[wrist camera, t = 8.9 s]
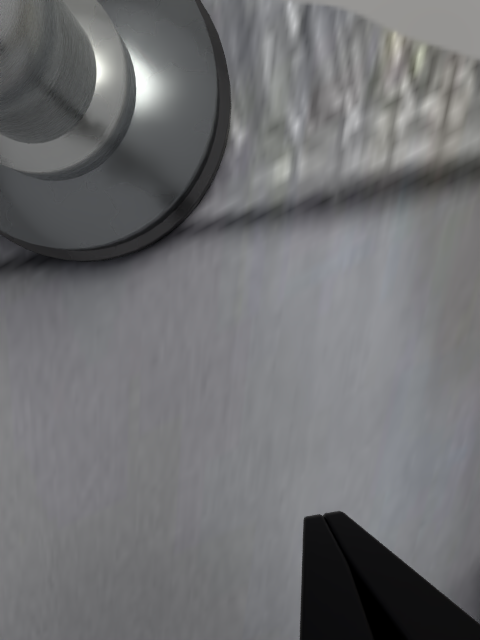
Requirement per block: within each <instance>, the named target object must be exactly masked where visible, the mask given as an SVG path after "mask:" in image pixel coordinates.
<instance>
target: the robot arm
mask: <svg viewBox="0 0 480 640" xmlns="http://www.w3.org/2000/svg"><path fill="white" fill-rule="evenodd" d="M300 640H480V624H479V623H478V622H477V621H475V620H474V619H473V618H472V617H470V616H469V615H468V614H467V613H466V612H464V611H463V610H462V609H461V608H459V607H458V606H457V605H456V604H455V603H453V602H452V601H451V600H450V599H448V598H447V597H446V596H445V595H444V594H442V593H441V592H440V591H439V590H437V589H436V588H435V587H434V586H433V585H431V584H430V583H429V582H428V581H426V580H425V579H424V578H423V577H422V576H420V575H419V574H418V573H417V572H415V571H414V570H413V569H412V568H411V567H409V566H408V565H407V564H406V563H404V562H403V561H402V560H401V559H400V558H398V557H397V556H396V555H395V554H394V553H392V552H391V551H390V550H389V549H387V548H386V547H385V546H384V545H383V544H381V543H380V542H379V541H378V540H376V539H375V538H374V537H373V536H372V535H370V534H369V533H368V532H367V531H365V530H364V529H363V528H362V527H361V526H359V525H358V524H357V523H356V522H354V521H353V520H352V519H351V518H350V517H348V516H347V515H346V514H345V513H343V512H341V511H336V512H330V513H325V514H324V515H323V516H322V515H320V514H319V515H313V516H307V517H305V518H304V525H303V556H302V586H301V617H300Z"/></svg>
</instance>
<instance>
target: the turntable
mask: <svg viewBox="0 0 480 640" xmlns="http://www.w3.org/2000/svg"><path fill="white" fill-rule="evenodd" d="M97 1H98V2H99V4H100V5H101V6H102V7H103V8H104V10H105V12H106V13H107V15H108V16H109V18H110V19H111V21H112V23H113V24H114V26H115V28H116V29H117V31H118V33H119V34H120V36H121V38H122V39H123V41H124V43H125V45H126V47H127V49H128V51H129V53H130V56H131V59H132V63H133V66H134V71H135V76H136V103H135V109H134V114H133V117H132V121H131V124H130V126H129V129H128V131H127V133H126V135H125V137H124V139H123V140H122V142H121V144H120V145H119V147H118V148H117V149H116V151H115V152H114V153H113V154H112V155H111V156H110V157H109V158H108V159H107V160H106V161H105V162H104V163H103V164H101V165H100V166H99V167H97V168H96V169H94V170H92V171H91V172H89V173H87V174H85V175H82V176H80V177H77V178H73V179H69V180H63V181H45V180H40V179H35V178H32V177H29V176H26V175H24V174H21V173H19V172H17V171H15V170H13V169H11V168H9V167H6V166H4V165H2V164H0V234H2V235H3V236H4V237H6V238H7V239H9V240H10V241H12V242H14V243H16V244H18V245H20V246H22V247H24V248H25V249H28V250H31V251H33V252H36V253H39V254H42V255H45V256H49V257H54V258H58V259H64V260H73V261H103V260H109V259H114V258H118V257H123V256H126V255H129V254H131V253H134V252H137V251H140V250H142V249H144V248H146V247H148V246H150V245H152V244H153V243H155V242H157V241H158V240H160V239H161V238H163V237H164V236H166V235H167V234H169V233H170V232H171V231H173V230H174V229H175V228H176V227H177V226H178V225H179V224H180V223H181V222H182V221H184V220H185V219H186V218H187V217H188V215H189V214H190V213H191V212H192V211H193V209H194V208H195V207H196V206H197V205H198V204H199V202H200V201H201V199H202V198H203V196H204V194H205V193H206V191H207V190H208V188H209V187H210V185H211V183H212V181H213V179H214V177H215V174H216V172H217V170H218V168H219V166H220V163H221V160H222V157H223V154H224V151H225V147H226V142H227V137H228V132H229V127H230V115H231V92H230V81H229V75H228V70H227V64H226V59H225V55H224V51H223V48H222V45H221V42H220V39H219V35H218V33H217V31H216V29H215V26H214V24H213V22H212V20H211V18H210V16H209V14H208V12H207V11H206V9H205V7H204V6H203V4H202V3H201V1H200V0H97Z"/></svg>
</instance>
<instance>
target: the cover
mask: <svg viewBox="0 0 480 640" xmlns="http://www.w3.org/2000/svg"><path fill="white" fill-rule="evenodd" d="M135 103H136V76H135V71H134V66H133V63H132V59H131V56H130V53H129V51H128V49H127V47H126V45H125V43H124V41H123V39H122V38H121V36H120V34H119V33H118V31H117V29H116V28H115V26H114V24H113V23H112V21H111V19H110V18H109V16H108V15H107V13H106V12H105V10H104V8H103V7H102V6H101V5H100V4H99V2H98V1H97V0H0V164H2V165H4V166H6V167H9V168H11V169H13V170H15V171H17V172H19V173H21V174H24V175H26V176H29V177H32V178H35V179H40V180H45V181H63V180H69V179H73V178H77V177H80V176H82V175H85V174H87V173H89V172H91V171H92V170H94V169H96V168H97V167H99V166H100V165H101V164H103V163H104V162H105V161H106V160H107V159H108V158H109V157H110V156H111V155H112V154H113V153H114V152H115V151H116V149H117V148H118V147H119V145H120V144H121V142H122V140H123V139H124V137H125V135H126V133H127V131H128V129H129V126H130V124H131V121H132V117H133V114H134V109H135Z"/></svg>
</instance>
